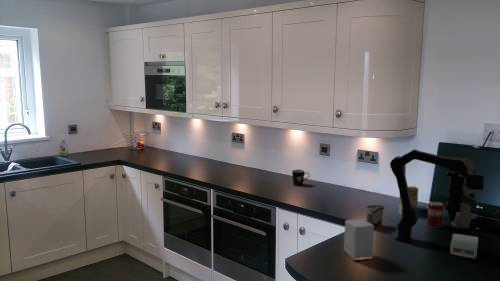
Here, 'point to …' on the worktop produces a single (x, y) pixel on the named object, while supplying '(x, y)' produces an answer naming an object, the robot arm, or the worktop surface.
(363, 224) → the supplement box
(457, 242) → the cover
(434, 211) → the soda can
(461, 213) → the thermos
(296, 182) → the coffee mug
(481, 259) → the worktop surface
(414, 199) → the candy box
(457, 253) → the beige tray
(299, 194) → the worktop surface
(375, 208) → the food container
